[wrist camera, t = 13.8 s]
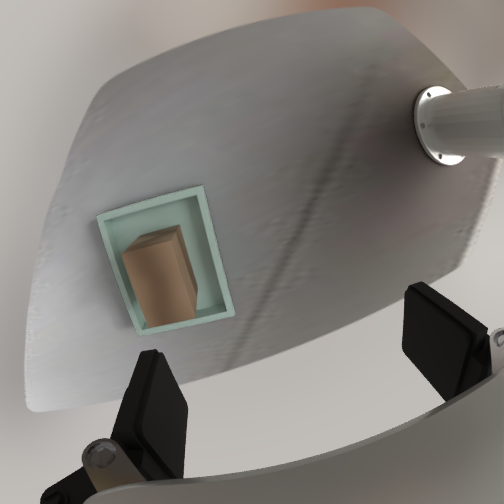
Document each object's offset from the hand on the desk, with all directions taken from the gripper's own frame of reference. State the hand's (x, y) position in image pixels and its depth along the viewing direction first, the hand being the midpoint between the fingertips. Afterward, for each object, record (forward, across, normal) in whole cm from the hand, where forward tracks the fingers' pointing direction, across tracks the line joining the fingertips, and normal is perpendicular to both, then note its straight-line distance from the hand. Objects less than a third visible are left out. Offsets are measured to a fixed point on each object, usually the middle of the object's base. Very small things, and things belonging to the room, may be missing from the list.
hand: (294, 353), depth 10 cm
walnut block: (+25, +10, +3) cm, 27 cm away
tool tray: (+26, +10, +3) cm, 28 cm away
